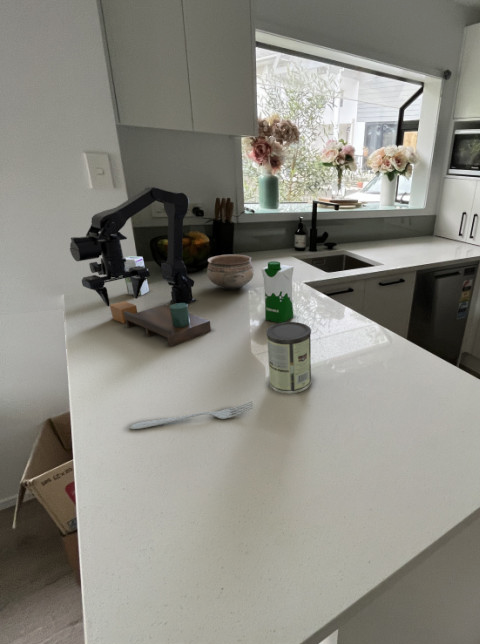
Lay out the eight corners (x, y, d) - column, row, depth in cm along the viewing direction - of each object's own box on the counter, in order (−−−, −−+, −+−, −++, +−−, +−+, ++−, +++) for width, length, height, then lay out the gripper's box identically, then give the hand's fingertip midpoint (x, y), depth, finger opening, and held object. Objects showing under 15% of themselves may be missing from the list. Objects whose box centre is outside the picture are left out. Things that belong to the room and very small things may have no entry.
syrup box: (149, 291, 153) (143, 256, 147) (141, 296, 147) (134, 259, 142) (136, 290, 153) (129, 255, 148) (127, 295, 148) (120, 258, 142)
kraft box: (127, 314, 130) (124, 300, 128) (138, 319, 126) (136, 305, 124) (112, 318, 126) (109, 304, 124) (124, 324, 122) (120, 309, 120)
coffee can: (281, 368, 99) (279, 319, 93) (317, 376, 96) (317, 325, 90) (261, 388, 90) (257, 335, 84) (300, 397, 87) (299, 342, 81)
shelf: (166, 313, 131) (164, 300, 130) (211, 330, 119) (209, 316, 117) (126, 326, 121) (123, 311, 119) (171, 346, 108) (168, 330, 107)
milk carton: (261, 320, 128) (258, 262, 120) (276, 311, 136) (274, 256, 128) (283, 325, 125) (281, 266, 117) (297, 316, 132) (296, 260, 124)
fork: (132, 422, 77) (130, 415, 76) (252, 406, 83) (252, 400, 82) (128, 432, 74) (126, 425, 73) (253, 415, 80) (253, 408, 79)
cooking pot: (202, 282, 165) (198, 255, 160) (243, 277, 174) (241, 251, 170) (218, 299, 146) (215, 269, 141) (264, 292, 155) (263, 263, 150)
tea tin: (183, 319, 118) (180, 301, 116) (193, 323, 115) (191, 305, 113) (169, 324, 114) (166, 306, 112) (179, 328, 112) (176, 310, 109)
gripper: (128, 247, 129) (136, 290, 135) (67, 256, 115) (80, 304, 121) (146, 251, 123) (154, 296, 129) (85, 262, 109) (97, 312, 115)
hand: (122, 302), depth 124 cm, fingers open, 9 cm apart
